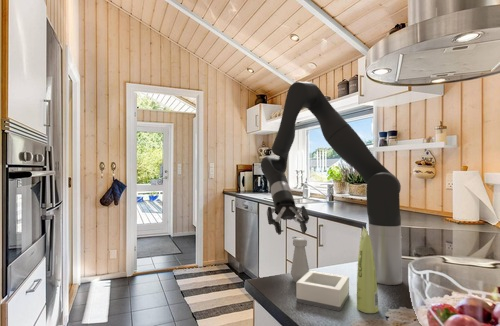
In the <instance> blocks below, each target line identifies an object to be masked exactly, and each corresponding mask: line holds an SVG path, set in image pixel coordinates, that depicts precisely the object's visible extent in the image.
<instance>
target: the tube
mask: <svg viewBox="0 0 500 326" xmlns="http://www.w3.org/2000/svg"><path fill="white" fill-rule="evenodd" d="M361 231H362V232H361V234H360V240H359V249H358V260H357V270H356V271H357V273H356V274H357V275H356V308H357V310H359V311H360V312H362V313H365V314H375V313H378V312H379V295H378V283H377V279H376V269H375V261H374V255H373V249H372V244H371V240H370V237H369V230H367V229H366V228H365V227H364V226H362V230H361Z"/></svg>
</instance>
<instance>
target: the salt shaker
mask: <svg viewBox="0 0 500 326" xmlns="http://www.w3.org/2000/svg"><path fill="white" fill-rule="evenodd" d="M307 241H308V240H307V239H306V238H304V237H294V238H293V240H292V246H293V247H294V250H293V256H292V257H293V258H292V263H291V268H290V275H291V278H292V280H293V281H292V282H295V283H296V282H297V281H298V280H300V279H301V278H302V277H303V276H304V275H305V274H306V273H307V272H309V271H310V268H309V263H308V257H307V252H306V247H307V245H308V242H307Z"/></svg>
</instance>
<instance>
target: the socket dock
mask: <svg viewBox="0 0 500 326" xmlns="http://www.w3.org/2000/svg"><path fill="white" fill-rule="evenodd" d="M295 283H296V291H295V292H296V303H300V304H305V305H309V306H314V307H318V308H324V309H328V310H333V311H337V312H341V310H342V309H343V307H344V305H345V303H346V302H347V300H348V298H349V296H350V277H349V275H347V276H346V275H342V274H335V273H329V272H323V271H314V270H309V272H307V273H306V274H305V275H304V276H303V277H302V278H301V279H300V280H298V281H297V282H295Z"/></svg>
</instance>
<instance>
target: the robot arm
mask: <svg viewBox="0 0 500 326" xmlns="http://www.w3.org/2000/svg"><path fill="white" fill-rule="evenodd" d="M286 93H287V94H286V97H285V101H284V102H285V103H284V107H283V111H282V114H281V115H282V116H281V120H280V124H279V128H278V130H277V133H276V136H275V138H274V141H273V144H272V146H271V152H272V153H273V154H274V155H276V156H277V157H276V156H275V157H274V156H270V155H269V156H264V157H263V158H262V160H261V161H260V169H261V172H262V173H263V175H264V177H265V178H266V180H267V182H268V183H269V188H270V195H271V198H272V203H273V208H272V207H271V206H268V207H267V210H266V217H267V222H268V224H269V226H270V225H273V226H274V230H275V232H276V234H278V235H281V233H282V227H281V224H280V223H281V221H282V220H283V221H286V220H287V221H288V220H290V221H291V220H293V221H294V222H295V223H298V224H299V227H300V230H301V233H302V234H304V235H305V234H306V233H307V230H308V228H307V227H308V226H307V225H306V224H308V222H309V220H310V216H309V214H308V212H307V209H306V207H305V205H301V207H298V206H296V202H295V199H294V195H293V192H292V189H291V187H290V184H289V182H288V179H287V176H286V174H285V173H286V170H287V165H288V158H289V153H290V150H291V148H292V146H293V144H294V140H295V136H296V123H297V120H298V116H299V114H300V112H301V111H302V109H303V108H304V109H305V108H306V109H308V111H309V112H310V113H311V114H312V115H313V116H314V117H315V118H316V120H317V121H318V123H319V126H320V127H319V128H320V130H321V133H322V136H323V138H324V140H325V141H326V142H327V144H328V145H329V146H330V147H331V148H332V150H333V151H334V152H335V153H336V154H337V155H338V156H339V157H340V158H341V159H342V160H343V161H345V162H346V163H347V164H348V165H350V166H351V167H352V168H353V169H354V170H355V171H356V172H357V173H358V175H359V176H360V177H361V179H362V180H363V181H364V182H365V184H366V190H365V191H366V212H367V217H368V235H369V237H370V240H371V244H372V249H373V255H374V261H375V269H376V279H377V284H381V285H387V286H392V285H393V286H395V285H396V286H397V285H400V284H402V283H403V271H402V270H403V264H402V263H403V262H402V260H403V256H402V226H401V223H402V221H401V219H402V217H401V209H400V208H401V207H400V206H401V205H400V201H401V200H400V199H401V198H400V194H401V193H400V192H401V190H402V188H401V187H402V186H401V182H400V180H399V179H398V178H397V177H396V176H395V175H394V174H393V173H392V172H391V171H389V170H388V169H387V168H386V167H385V166H384V164H382V163H381V162H380V161H379V160H378V159H377V158H376V157H375V156H374V154H373V153H372V151H371V149H369V147H368V146H367V145H366V143H365V142H364V141H363V139H362V138H361V137H360V136H359V134H358V133H357V132H356V131H355V130H354V129H353V127H351V125H350V124H349V123H348V122H347V121H346V119H345V118H344V117H343V116H341V114H340V113H339V112H338V111H337V110H336V109H335V108H334V106H333V105H332V104H331V103H330V101H328V99H327V98H326V96H325V95H324V93H323V92H322V90H321V89H320V87H319V86H318V85H317V84H316V83H315V82H311V81H295V82H293V83H292V84H291V85H290V86H289V87H288V89H287V92H286ZM274 214H275V215H276V218H274V217H273V215H274Z"/></svg>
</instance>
